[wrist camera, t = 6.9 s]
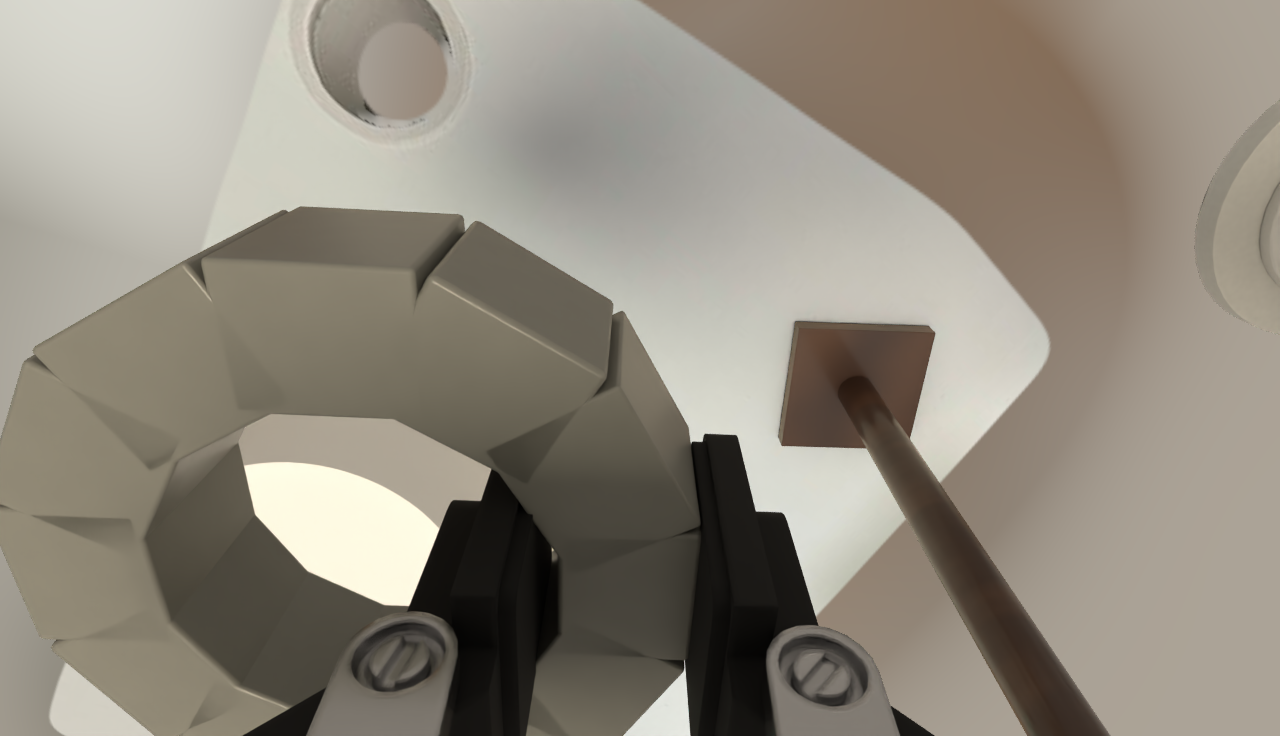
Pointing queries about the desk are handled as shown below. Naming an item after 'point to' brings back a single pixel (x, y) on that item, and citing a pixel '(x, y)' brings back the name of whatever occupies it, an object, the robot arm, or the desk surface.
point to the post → (925, 501)
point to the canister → (356, 496)
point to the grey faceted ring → (341, 387)
